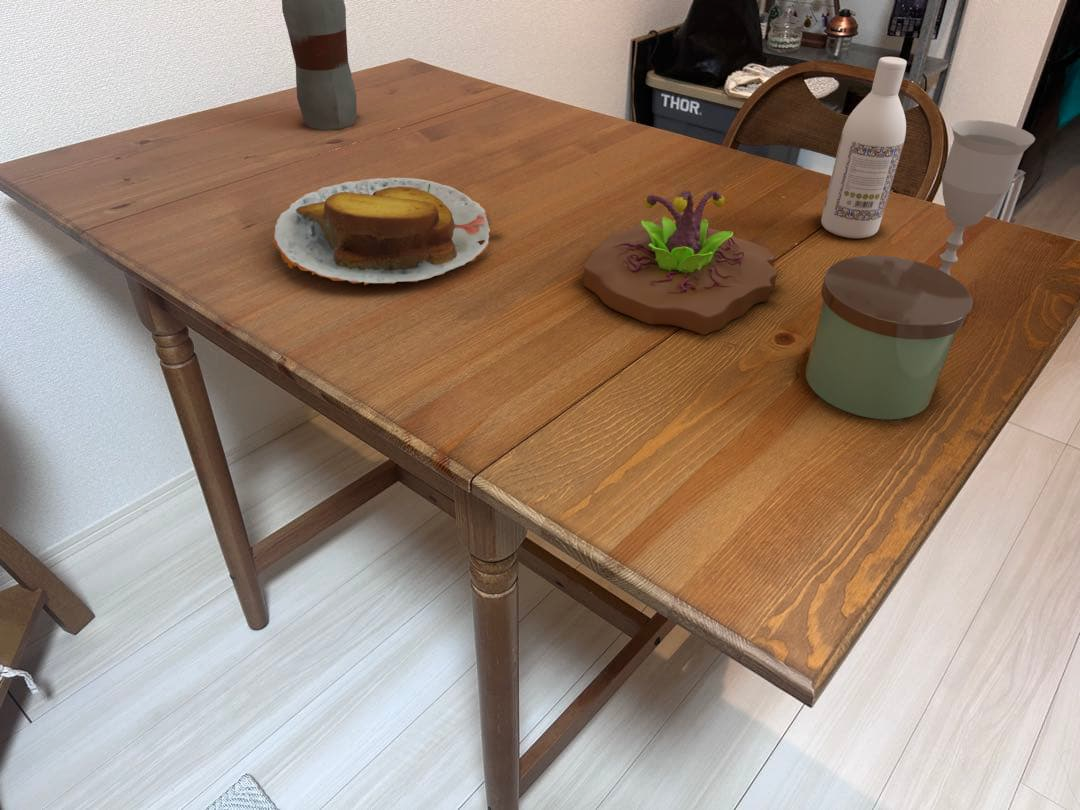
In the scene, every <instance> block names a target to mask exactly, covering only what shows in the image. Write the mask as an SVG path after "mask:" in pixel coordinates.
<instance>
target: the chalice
mask: <svg viewBox="0 0 1080 810" xmlns="http://www.w3.org/2000/svg"><path fill="white" fill-rule="evenodd" d="M951 130H952V135H953V141H952V144H951V147H950V150H949V153H948V157H947V159H946V162H945V166H944V168H943V172H942V175H941V182H942V183H941V185H942V187H941V188H942V197H943V203H944V208H945V213H946V218H947V220H949V221H950V222H951V223H953V230H952V231H951V234H950V235H949V236H948V237H947V238H946V239H945V241H946V249H945V251H944V252H943V253H941V254H939V258H940V260H941V261H940V267H939V268H938V269H939V270H941V271H943V272H945V273H947V274H949V275H950V276H952V275H951V273H950V271H951V268H952V266H953V264H954V263H955V262H958V261H959V258H958V256H957V251H958V249H959V248H960V246H962V245H963V244H964V241H963V236H964V235H963V234H964V231H965V229H967V227H972V226H975V225H977V224H978V223H980V222H981V221H982V220H983V219H984V218H985V217H986V216H987V215H988V214H989V213H991V211H992V210H993V209H995V208H996V206H997V205H998V204H999V203H1000V202H1001V201H1002V200H1003V198H1004V197H1005V195H1007V193H1009V191H1010V188H1011V186H1012V184H1013V181H1014V179H1015V176H1016V174H1017V170H1018V168H1019V165H1020V163H1021V160H1022V158H1023V155H1024V153H1025V151H1026V150H1027V149H1028V148H1029V147H1030V146H1031V145H1033V144H1034V143H1035V141H1036V137H1035V136H1034V134H1032V133H1030V132H1029V131H1027V130H1025V129H1023V128H1020V127H1019V126H1014V125H1010V124H1007V123H1002V122H998V121H997V122H996V121H989V120H980V119H979V120H978V119H977V120H975V119H972V120H971V119H968V120H960V121H957V122H954V123H953V124H952V126H951Z"/></svg>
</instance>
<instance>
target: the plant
mask: <svg viewBox="0 0 1080 810" xmlns="http://www.w3.org/2000/svg"><path fill="white" fill-rule="evenodd" d="M711 198H712V203H713V205H714V206H715V207H718V208H721V207H722V206H723V205H725V200H726V199H725V197H724V195H722V193H721V192H720V191H714V190H710V191H707V192H706V194H704V195H703V197H701V199H700V201H699V202H698V204H697V205H696V207H695V210H694V204H695V203H694V201H693V199H694V196H693V195H692V193H691V191H690V190H683V191H682V192H680V193H679V194H677V196H675V198H674V199H673V201H672V202H671V201H669V200H668V199H666V198H664V197H662V196H658V195H655V194H648V195H647V196H646V197H645V198H644V200H643V201H644V206H645V207H646V208H647V209H653V208H654V207H655V206H656V205H657V202H658V203H660V204H661V205H662V206H664V207H665V208H666V209H667V211H668V212H670V215H671V216H672V217H673V219H674V221H673V220H672V219H671V218H669V217H667V216H662V219H661V221H656V222H653V221H649V220H644V219H641V222H636V223H635V225H634V226H633V227H632V228H630V229H626V230H624V231H623V230H622V231H620V232H614V233H611V234H609V235H608V236H607V237H606V238H605V239H604V241H602V243H601V244H600V245H599V246H598V247H597V248H596V249H595V250H594V251H593V252H592V253H591V254H590V255H589V257H588V259H587V260H586V262H585V264H584V266H583V275H582V276H583V279H582V284H583V286H584V287H585V288H587V289H588V290H589V291H591V292H592V293H594V294H595V295H596V296H597V297H599V298H600V301H601V302H602V303H603V304H604V305H606V306H607V307H609V308H610V309H612V310H614V311H616V312H618V313H620V314H623V315H626V316H628V317H631V318H632V319H636V320H638V321H640V322H642V323H645V324H648V325H667V326H668V325H669V326H674V327H679V328H682V329H685V330H688V331H691V332H693V333H696V334H697V333H698V334H700V335H702V336H706V335H708V334H711V333H713V332H717V331H719V330H721V329H722V328H723V327H725V325H727V324H728V323H729V322H731V321H733V320H735V319H738V318H740V317H742V316H743V315H744V314H746V313H747V312H748V311H749V310H750V308H752V306H755V305H757V304H759V303H760V304H761V303H766V302H769V300H770V296H771V292H773V291H774V289H775V286H776V281H777V277H778V270H777V269H776V268H775V267H774V263H775V256H774V255H773V254H772V253H771V252H770V251H769V250H767V249H766V248H765V247H764V246H762V245H760V244H757V243H755V242H751V241H749V240H746V239H743V238H739V237H737V236H734V231H729V230H723V231H721V230H718V229H714V228H711V227H710V228H709V222H708V219H702V217H703V213H704V210H705V207H706V204H707V202H708V201H709V199H711ZM682 211H683V214H681V213H680V212H682Z"/></svg>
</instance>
